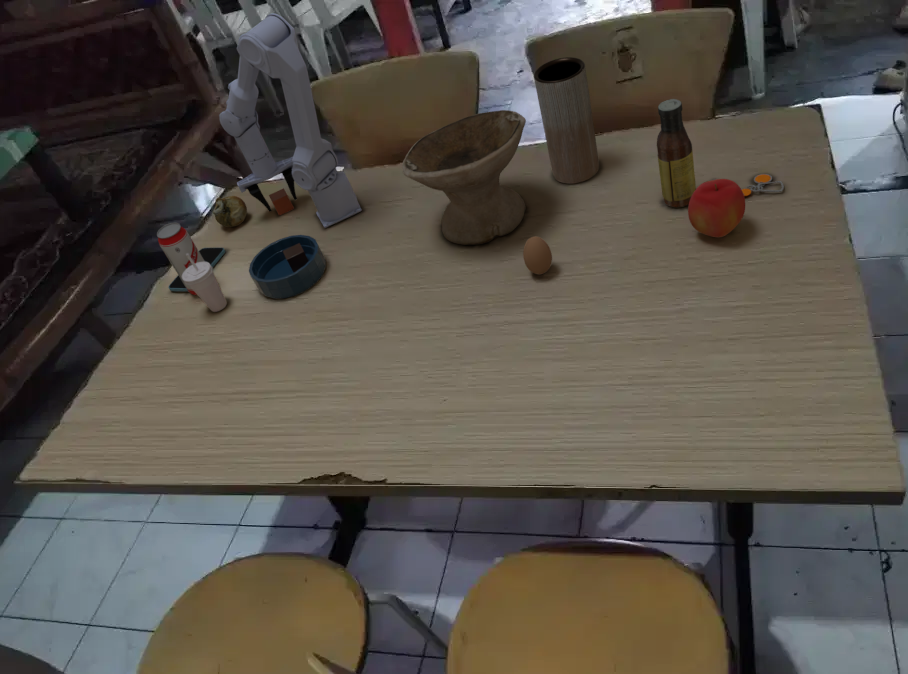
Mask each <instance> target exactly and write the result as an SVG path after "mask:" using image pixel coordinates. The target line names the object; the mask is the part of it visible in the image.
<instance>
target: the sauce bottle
mask: <svg viewBox="0 0 908 674" xmlns="http://www.w3.org/2000/svg"><path fill="white" fill-rule="evenodd" d="M657 111H658V115H659V118H660V119H659V120H660V131H659V133H658V135H657V138H656V149H657V163H658V172H659V178H660V186H661V196H662V198H663V201H664V204H665V205H666V206H668V207H672V208H682V207H687V206H689V202H690V199H691V196H692V194H693V193H694V191H695V190H696V188H697V187H696V186H697V184H696V173H695V162H694V154H693V143H692V141H691V139H690V137H689V135H688V132H687V130H686V128H685V125H684V121H683V113H682V112H683V103H682V101H680V100H679V99H676V98H670V99H667V100H664V101H662V102H660V103H659V104H658V106H657Z"/></svg>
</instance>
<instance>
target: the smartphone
mask: <svg viewBox="0 0 908 674" xmlns="http://www.w3.org/2000/svg"><path fill="white" fill-rule="evenodd" d="M198 251H199V253H200V254H201V256H202V258H203V259H204V261H205V262H208V263H209V264H210V265H211V266H212V268H213V269H214V267H215V265H216V264H217V263H218V262H219V261H220V259H221V258H222V256H224V255H225V254H226V249H225V248H224V247H203V248H201V249H198ZM167 288H168V289H169V290H170V292H189V291H188V290H187V288H186V287H185V285H184V283H183V282H182V280H181V279H180V277H179V275H178V274H177V275H176V277H175V278H174V279H173V280H172V281H171V283H170V284H169V285H168V287H167Z"/></svg>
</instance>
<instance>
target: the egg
mask: <svg viewBox="0 0 908 674" xmlns="http://www.w3.org/2000/svg"><path fill="white" fill-rule="evenodd" d="M522 256H523V257H522V258H523V261H524V264H525V266H526V268H527V270H529V271H530V272H531V273H533V274H535V275H543V274H545V273H547V272H548V271H549V270H550V268H551V265H552V262H553V254H552V251H551V248H550V246H549V244H548V243H547V242H546V241H545V239H543V238H542V237H540V236H538V235H537V236H531V237H529V238H528V239H527V240H526V241H525V243H524V247H523V252H522Z"/></svg>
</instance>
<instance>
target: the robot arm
mask: <svg viewBox="0 0 908 674" xmlns="http://www.w3.org/2000/svg"><path fill="white" fill-rule="evenodd" d="M236 51H237V53H238V55H239V61H238V70H237V71H238V72H237V78H236V79H234V80H233V81H231V82H230V83H228V86H227V89H228V90H229V93H228V94H229V95H228V98H227V100H226V102H225V105H226V109H225V110H223V111H221V112H220V113H219V115H218V117H219V123H220V125H221V127H222V128H223V130H224V131H225V132H226V133H227V134H228V135H230V136H231V137H233V138H234V140H235V142H236V145H238V147H239V150H240V151H241V153H242V155H243V158H244V160H245V161H246V163H247V164H248V166H249V168H250V170H251V174H248V175H247V176H245V177H244V178H242V179H241V180H239V181H237V182H236V184H237V187H238V189H239V190H240V193H245V192H246V191H248V193H249V194H250V196H252V197H253V198H254V199H256V200H257V201H259V202H260V203H261V204H262V205H263V206H264V207H265V209H267V211H268V213H271V212H272V211H273V210H272V208H271V206H270V204H269V202H268V201H267V199H266V198H265V196H264V194H263V193H262V191H261V188H260V187H259V184H261V183H264V182H266V181H268V180H271V179H273V178H275V177H276V176H279V175H281V174H282V176H283V178H284V180H285V182H286V184H287V187H288V189H289V192H290V194H291V196H292V198H293V200H294V201H296V200H298V197H297V195H296V188H295V187H296V186H295V183H296V185H297V186H298V187H299V188H301V189H302V190H304V191H307V192H308V194H309V196H310V198H311V200H312V202H313V204H314V206H315V208H316V210H317V211H316V212H315V214H316V216H317V218H318V219H319V221H320V222H321V224H322V226H323V228H324V229H326V228H329V227H331V226H333V225H336V224H337V223H339V222H341V221H344V220H345V219H346V220H347V219H348V218H350V217H352V216H354V215H356V214H359V213H360V212H362V211H363V210H362V207H361V205H360V203H359V201H358V197H357V194H356V193H355V191H354V189H353V187H352V185H351V182H350V180H349V178H348V176H347V175H346V173H345V172H344V171H343V170H341V171H338V170H337V167H338V165H339V160H338V156H337V155H336V153H335V151H334V150H333V146H332V143H331V141H329V140H327V139H324V138H322V135H321V131H320V126H319V121H318V116H317V110H316V106H315V101H314V96H313V91H312V86H311V82H310V76H309V72H308V67H307V65H306V62H305V60H304V58H303V56H302V54H301V51H300V49H299V43H298V39H297V34H296V30H295V28H294V27H293V26H292V25H291V24H290V23H289V22H288V20H286V19H285V18H284V17H283V16H281V15H280V14H278V13H275V12H274V13H269V14H267V15H266V17H265V18H264V19H262V20H261V21H260V22H259V23H257V24H255V26H253V27H251V28H250V29H249V30H248V31H246V32H245V33H242V34H241V35H240V36H239V38H238V40H237V46H236ZM260 72H263V73H264V74H265V75H267V76H268V77H270V78H272V79H279V80H280V83H281V87H282V91H283V95H284V100H285V104H286V109H287V113H288V118H289V121H290V125H291V126H290V127H291V129H292V134H293V138H294V142H295V146H296V147H295V150H294V152H293V156H291V157H288V158H286V159H282V160H278V161H275V159H274V157H273V155H272V153H271V151H270V149H269V146H268V145H267V143H266V141H265V139H264V137H263V135H262V133H261V131H260V130H261V125H260V123H259V114H258V112H257V110H256V107H257V103H258V98H259V92H260V91H259V88H258V86H257V85H256V83H257V79H258V76H259V73H260Z"/></svg>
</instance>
